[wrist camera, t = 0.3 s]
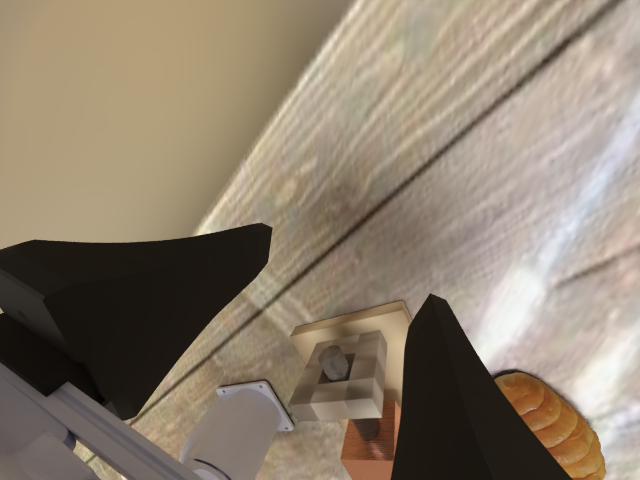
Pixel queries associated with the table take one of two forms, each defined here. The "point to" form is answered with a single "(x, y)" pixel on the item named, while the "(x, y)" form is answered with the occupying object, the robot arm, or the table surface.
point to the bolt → (364, 428)
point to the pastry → (555, 425)
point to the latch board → (361, 324)
